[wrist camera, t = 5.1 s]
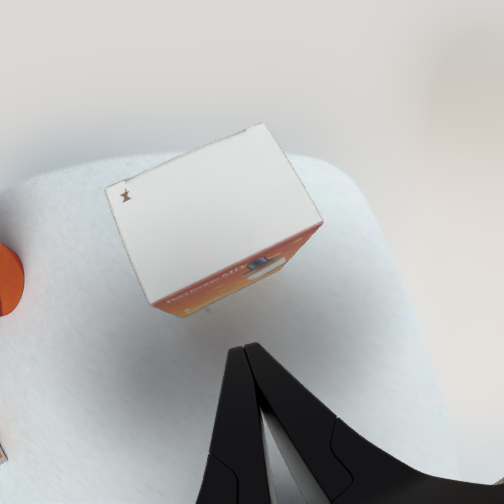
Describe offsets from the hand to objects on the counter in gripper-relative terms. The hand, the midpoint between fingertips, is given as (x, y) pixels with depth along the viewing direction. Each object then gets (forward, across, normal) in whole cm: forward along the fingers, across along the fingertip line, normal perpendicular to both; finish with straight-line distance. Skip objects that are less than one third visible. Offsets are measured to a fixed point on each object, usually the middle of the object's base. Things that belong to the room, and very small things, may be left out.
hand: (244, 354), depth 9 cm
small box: (+14, 0, +5) cm, 15 cm away
